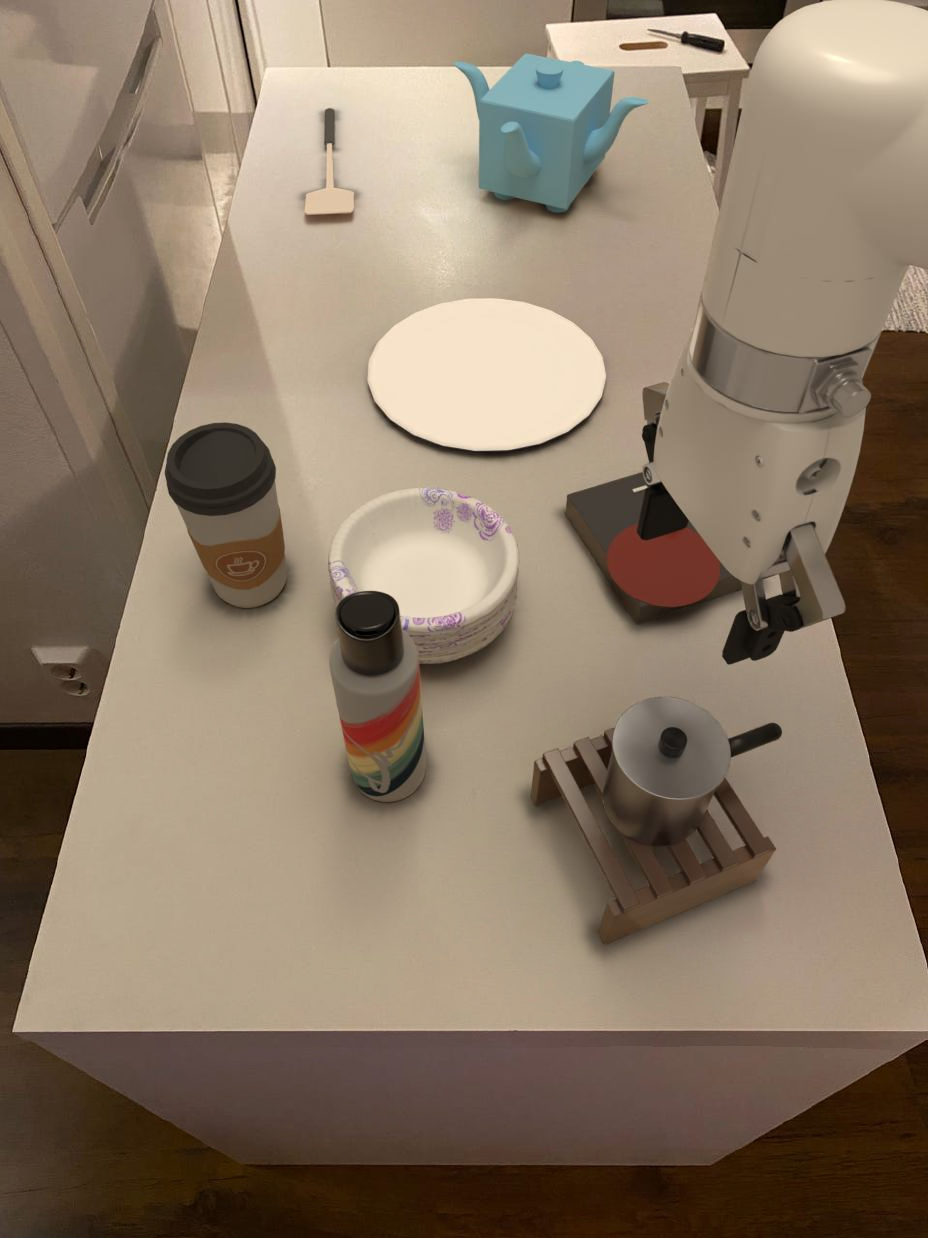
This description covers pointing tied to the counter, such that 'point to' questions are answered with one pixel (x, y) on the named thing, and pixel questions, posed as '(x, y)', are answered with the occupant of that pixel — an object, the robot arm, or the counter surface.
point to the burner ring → (663, 567)
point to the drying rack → (663, 894)
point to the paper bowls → (431, 567)
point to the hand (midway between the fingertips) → (702, 589)
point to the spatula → (329, 181)
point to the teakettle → (545, 128)
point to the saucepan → (669, 767)
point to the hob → (608, 515)
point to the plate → (486, 375)
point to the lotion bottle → (378, 696)
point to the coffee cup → (230, 510)
